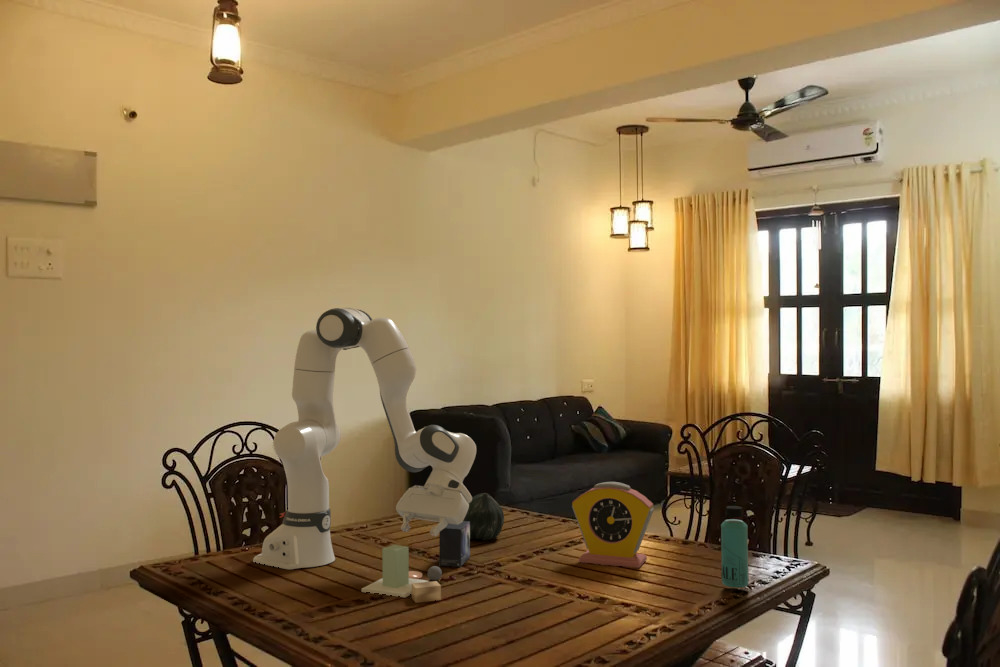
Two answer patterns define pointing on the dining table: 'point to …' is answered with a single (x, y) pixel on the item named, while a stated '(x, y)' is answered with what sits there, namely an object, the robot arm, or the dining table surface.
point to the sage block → (395, 566)
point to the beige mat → (401, 591)
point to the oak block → (426, 591)
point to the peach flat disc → (415, 574)
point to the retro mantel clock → (613, 524)
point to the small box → (454, 544)
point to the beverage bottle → (734, 549)
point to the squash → (484, 517)
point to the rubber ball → (434, 573)
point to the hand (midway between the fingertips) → (418, 532)
